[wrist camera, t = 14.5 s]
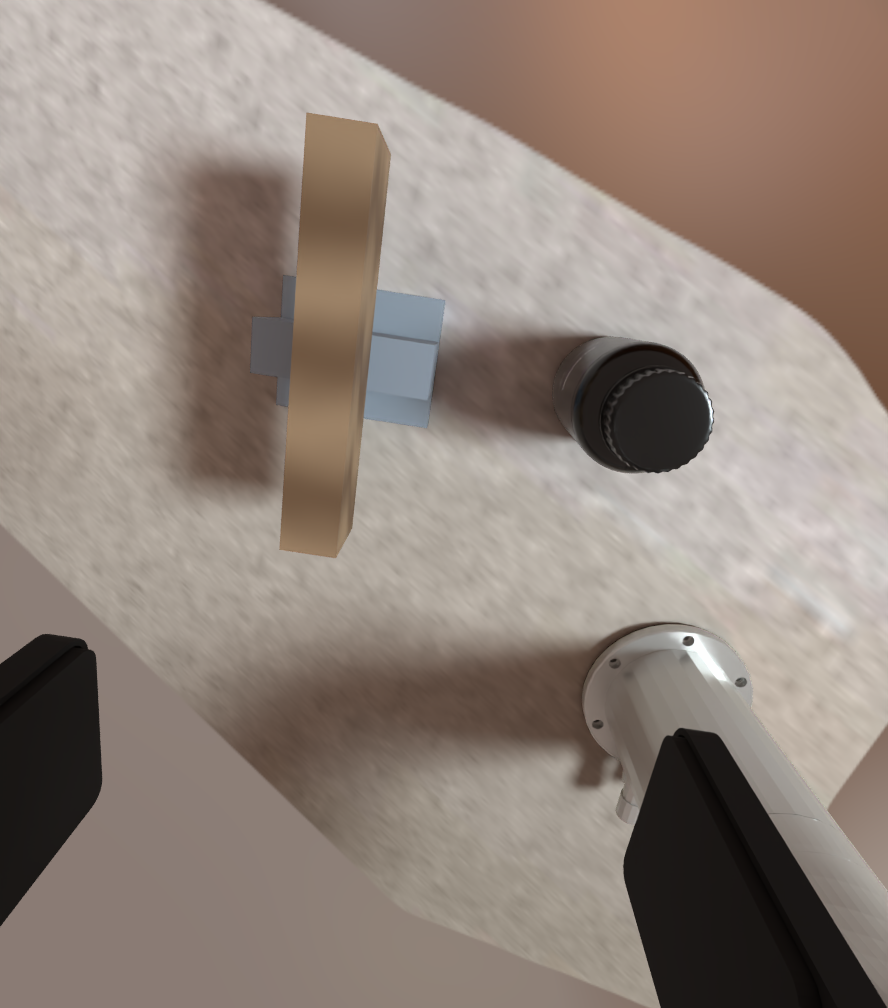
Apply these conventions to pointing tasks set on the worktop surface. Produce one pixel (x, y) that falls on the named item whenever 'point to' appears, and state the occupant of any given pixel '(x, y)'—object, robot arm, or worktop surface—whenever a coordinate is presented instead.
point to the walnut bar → (332, 328)
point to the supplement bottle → (633, 404)
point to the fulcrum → (393, 356)
